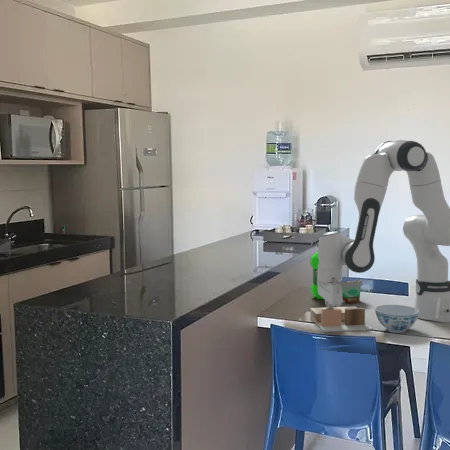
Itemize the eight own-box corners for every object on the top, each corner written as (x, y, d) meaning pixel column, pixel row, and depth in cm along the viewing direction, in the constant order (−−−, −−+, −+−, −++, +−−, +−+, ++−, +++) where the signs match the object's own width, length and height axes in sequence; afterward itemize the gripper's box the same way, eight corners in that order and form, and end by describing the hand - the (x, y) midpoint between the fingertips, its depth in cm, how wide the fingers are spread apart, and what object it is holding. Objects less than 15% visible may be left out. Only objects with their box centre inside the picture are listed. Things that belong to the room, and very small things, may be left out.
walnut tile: (363, 307, 202) (364, 308, 201) (363, 323, 203) (364, 324, 201) (344, 308, 202) (346, 309, 200) (344, 324, 202) (346, 325, 201)
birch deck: (355, 316, 215) (355, 306, 215) (363, 322, 206) (363, 312, 206) (310, 318, 213) (310, 308, 213) (316, 324, 205) (316, 313, 204)
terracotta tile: (340, 308, 201) (341, 310, 199) (339, 323, 202) (340, 325, 200) (321, 309, 200) (322, 310, 199) (321, 324, 202) (322, 326, 200)
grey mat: (363, 322, 206) (363, 321, 206) (372, 329, 196) (372, 328, 196) (316, 324, 205) (316, 322, 205) (323, 331, 195) (323, 330, 195)
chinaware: (414, 339, 185) (414, 317, 184) (370, 333, 192) (370, 311, 192) (421, 328, 198) (422, 307, 197) (380, 323, 205) (380, 303, 205)
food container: (344, 306, 231) (345, 283, 230) (336, 303, 237) (336, 280, 236) (368, 303, 236) (368, 280, 235) (359, 300, 242) (359, 278, 241)
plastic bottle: (328, 294, 254) (329, 241, 251) (336, 300, 243) (336, 244, 241) (307, 295, 252) (308, 242, 250) (314, 300, 242) (314, 245, 240)
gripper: (347, 280, 191) (346, 319, 193) (330, 270, 212) (330, 305, 213) (329, 281, 191) (329, 319, 192) (314, 270, 211) (314, 306, 212)
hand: (329, 312), depth 203 cm, fingers closed
